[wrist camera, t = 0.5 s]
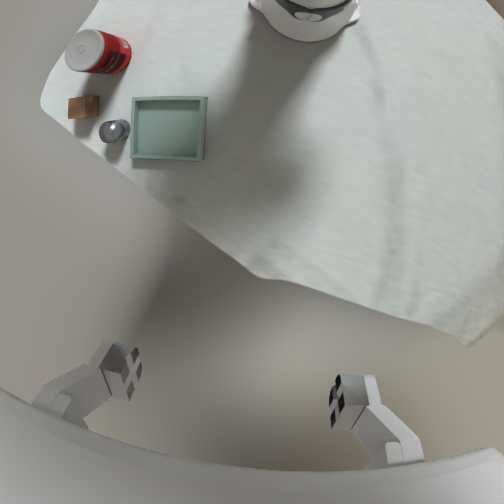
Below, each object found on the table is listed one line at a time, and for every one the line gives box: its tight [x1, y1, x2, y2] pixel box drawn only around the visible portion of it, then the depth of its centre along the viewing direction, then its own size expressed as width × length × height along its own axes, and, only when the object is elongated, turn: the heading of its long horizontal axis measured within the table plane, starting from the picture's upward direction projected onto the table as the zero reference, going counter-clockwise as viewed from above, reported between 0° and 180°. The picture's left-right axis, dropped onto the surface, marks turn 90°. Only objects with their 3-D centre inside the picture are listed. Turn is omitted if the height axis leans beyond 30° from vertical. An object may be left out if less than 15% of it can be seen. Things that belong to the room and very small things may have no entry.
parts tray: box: [130, 96, 208, 161], centre depth 49 cm, size 11×13×2 cm
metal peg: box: [99, 119, 130, 143], centre depth 48 cm, size 4×4×5 cm
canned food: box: [65, 29, 131, 74], centre depth 39 cm, size 8×8×11 cm
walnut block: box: [68, 96, 99, 119], centre depth 47 cm, size 4×4×5 cm
